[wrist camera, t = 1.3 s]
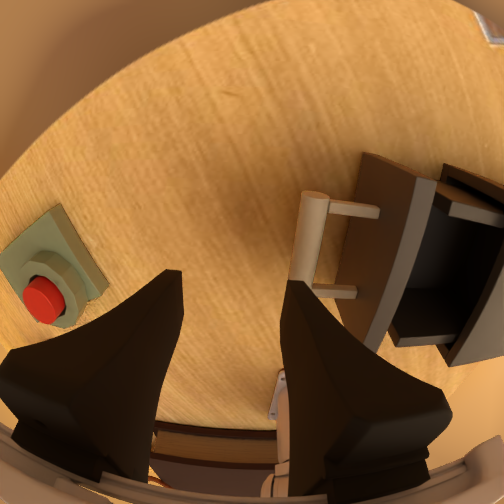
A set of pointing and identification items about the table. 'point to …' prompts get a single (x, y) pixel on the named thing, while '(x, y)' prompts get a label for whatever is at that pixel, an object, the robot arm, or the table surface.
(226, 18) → the table surface
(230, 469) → the book
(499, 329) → the cabinet
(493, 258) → the drawer
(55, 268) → the olive button base
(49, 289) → the button
